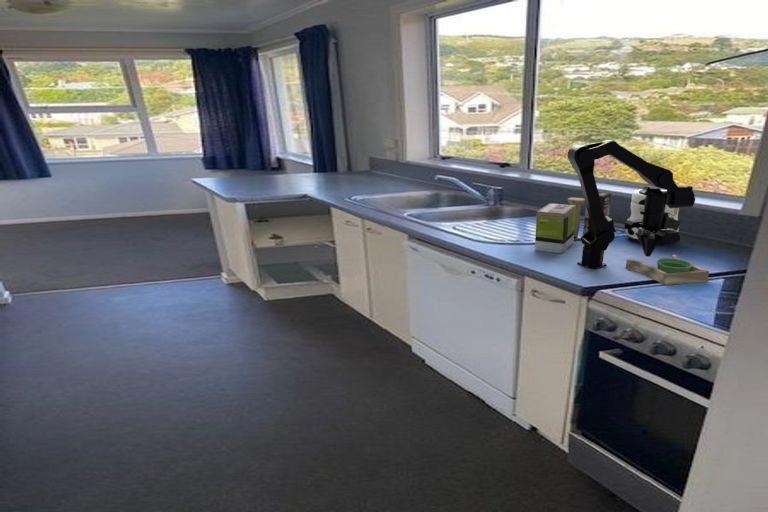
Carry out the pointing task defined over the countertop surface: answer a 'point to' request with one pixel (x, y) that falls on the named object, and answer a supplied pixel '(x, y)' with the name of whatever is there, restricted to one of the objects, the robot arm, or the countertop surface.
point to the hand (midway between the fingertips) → (647, 256)
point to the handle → (576, 212)
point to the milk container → (638, 206)
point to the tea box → (555, 228)
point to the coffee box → (605, 205)
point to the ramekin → (673, 265)
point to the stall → (671, 278)
